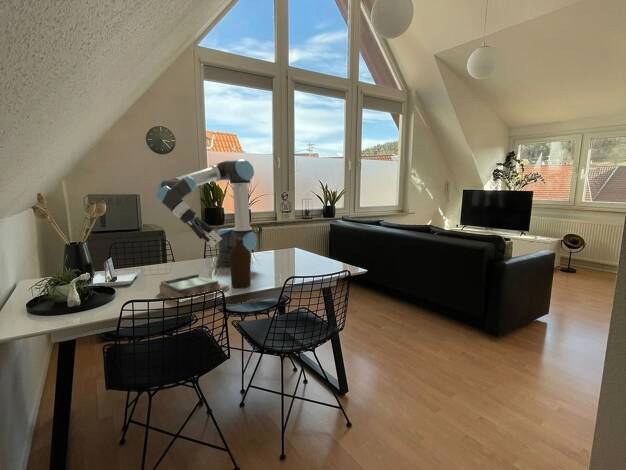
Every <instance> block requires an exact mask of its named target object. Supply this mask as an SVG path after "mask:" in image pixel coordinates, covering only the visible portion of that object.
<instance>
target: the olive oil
mask: <svg viewBox="0 0 626 470" xmlns="http://www.w3.org/2000/svg"><path fill="white" fill-rule="evenodd" d="M229 260H230V267H229V268H230V269H229V271H230V281H231V282H230V284H231V288H234V289H246V288H249V287H250V286H251V271H252V270H251V267H252V266H251V265H252V255H251V251H249V250H248V249H247V248H246V247H245V246H244V245H243V237H236V246H235V247H234V248H233V249H232V250H231V252H230V255H229Z"/></svg>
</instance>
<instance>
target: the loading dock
mask: <svg viewBox="0 0 626 470" xmlns="http://www.w3.org/2000/svg"><path fill="white" fill-rule="evenodd" d="M158 286H159V293H160V294H161V295H163V296H165V297H166V298H169V297H182V296H188V295H193V294H198V293H203V292H207V291H212V290H222V292H226V291H229V290H230V287H229V285H228V284H226V283H222V282H219V281H218V280H214V279H211V278H207V277H202V276H200V275H199V273H195V274H191V275H187V276H186V275H185V276H181V277H176V278H172V279H167V280H162V281H160V284H159V285H158ZM218 293H220V292H218ZM218 293H217V294H218Z"/></svg>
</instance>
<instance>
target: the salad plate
mask: <svg viewBox="0 0 626 470" xmlns="http://www.w3.org/2000/svg"><path fill="white" fill-rule="evenodd" d="M113 272H114V273H115V275H116V276H117V280H116V281H115V282H105V273H106V272H99V273H97V274H96V275H95V276H93V277H94V278H93V277H92V278H93V284H92V285H94V286H96V285H99V286H105V287H115V286H126V285H130V284H131V283H132V282H133V281H134V279H135V278H136V277H137V276H138V275H139V274H140V272H141V270H140V269H137V270H136V269H135V270H121V271H113Z"/></svg>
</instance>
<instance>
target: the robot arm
mask: <svg viewBox="0 0 626 470" xmlns="http://www.w3.org/2000/svg"><path fill="white" fill-rule="evenodd" d="M254 174H255V170H254V166H253V164H251V163H250V161H248V160H246V159H232V160H230V159H229V160H224V161H221V162H218V163H215V164H212V165H210V166H209V167H207V168H204V169H201V170H198V171H197V170H196V171H195V172H194V171H193V172H191V173H187V174H183V175H180V176H177V177H174V178H169V179H163V180H160V181H158V183H157V185H156V186H157V187H156V188H157V192H156V193H155V197H156V199H157V200H158V201H159V202H160V203H161V204H162V205H163V206H165V207H166V208H167V209H168V210H169V211H170V212H172V213H173V216H176V217H177V218H179V220H180V221H181V222H182V223H183V224H187V225H188V227H190V228H191V230H193V232H194V234H195V235H197V237H198V238H199V239H200V240H203V241H205V243H207V244H208V245H209V246H210V247H211V248H214V247H215V246H216V245H217V248H218V250H217V251H218V253H217V258H216V261H215V266H216V267H220V268H230V260H229V255H230V252H231V250H232V249H233V248H234V247H235V246H236V237H243V245H244V246H245V247H246V248H247V249H248V250H249V251H250V252H251V251H253V249H254V248H255V247H256V245H257V242H258V241H257V240H258V237H257V235H256V233H254V232H253V228H252V227H251V225H250V205H249V204H250V203H249V189H248V188H249V186H250V185H251V180H252V179H253V177H254ZM219 181H229V185H231V186H232V191H233V192H232V194H233V207H234V208H233V211H234V227H231V228H223V229H222V228H221V229H219V230H217V232H216V231H215V230H214V227H212V226H210V225H209V224H208V223H206V222H205V221H203V220H202V219H200V218H199V216H197V217H195V216H196V214H197V212H196V211H195V210H194V209H192V208H190V205H188V204H187V202H185V201H184V200H183V199H184V198H186V197H187V196H188V195H190V194H191V193H193V192H194V190H195V189H196V188H197V187H198V186H200V185H201V186H202V185H204V184H207V183H210V182H219ZM206 233H208V234H206ZM210 236H211V237H210ZM212 238H213V239H212Z"/></svg>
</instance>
